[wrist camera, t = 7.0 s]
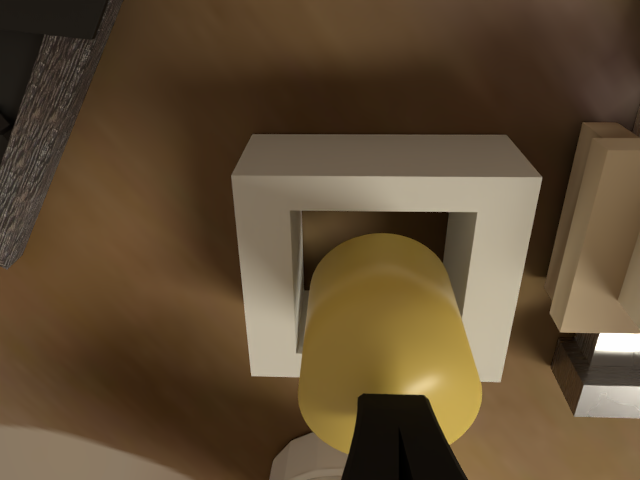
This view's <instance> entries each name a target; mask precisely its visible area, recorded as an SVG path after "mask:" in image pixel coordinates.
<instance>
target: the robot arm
mask: <svg viewBox="0 0 640 480" xmlns="http://www.w3.org/2000/svg"><path fill="white" fill-rule="evenodd" d="M341 480H468V479H467V477H466V475H465V474H464V472H463V470H462V468H461V466H460V465H459V463H458V461H457V459H456V457H455V455H454V453H453V451H452V449H451V447H450V445H449V444H448V442H447V440H446V438H445V436H444V433H443V431H442V429H441V427H440V425H439V423H438V421H437V418H436V416H435V414H434V411H433V409H432V406H431V404H430V401H429V399H428V398H427V397H426V396H425V395H406V394H366V393H363V394H362V395H360V396H359V397H358V402H357V416H356V423H355V429H354V434H353V438H352V442H351V446H350V451H349V454H348V458H347V461H346V464H345V468H344V471H343V474H342V478H341Z"/></svg>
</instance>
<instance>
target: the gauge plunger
mask: <svg viewBox="0 0 640 480" xmlns="http://www.w3.org/2000/svg"><path fill="white" fill-rule="evenodd" d="M363 393H366V394H406V395H425V396H426V397H427V398H428V399H429V401H430V404H431V406H432V409H433V411H434V414H435V416H436V418H437V421H438V423H439V425H440V427H441V429H442V431H443V433H444V436H445V438H446V440H447V442H448V444H449V445H450V444H451V443H453V442H454V441H456V440H457V439H458V438H459V437H460V436H462V435H463V434H464V433H465V432H466V431H467V429H468V428H469V427H470V426H471V424H472V423H473V421H474V420H475V418H476V416H477V414H478V412H479V409H480V405H481V400H482V386H481V382H480V378H479V374H478V371H477V368H476V365H475V361H474V358H473V355H472V351H471V348H470V345H469V342H468V338H467V335H466V332H465V328H464V325H463V322H462V319H461V315H460V312H459V309H458V305H457V302H456V299H455V295H454V292H453V289H452V286H451V282H450V279H449V276H448V273H447V271H446V268H445V266H444V265H443V263H442V262H441V260H440V259H439V258H438V257H437V255H436V254H435V253H434V252H433V251H431V250H430V249H429V248H428V247H426V246H425V245H423V244H421V243H420V242H418V241H416V240H413V239H411V238H408V237H405V236H401V235H396V234H388V233H375V234H367V235H362V236H358V237H355V238H352V239H350V240H347V241H345V242H343V243H341V244H340V245H338V246H336V247H335V248H334V249H332V250H331V251H330V252H329V253H328V254H327V255H326V256H325V257H324V258H323V259H322V260H321V261H320V263H319V264H318V266H317V267H316V269H315V271H314V273H313V276H312V279H311V283H310V290H309V299H308V307H307V316H306V325H305V334H304V342H303V351H302V360H301V369H300V378H299V386H298V403H299V408H300V411H301V414H302V416H303V418H304V420H305V422H306V423H307V425H308V426H309V428H310V429H311V430H312V431H313V432H314V433H315V434H316V435H317V436H318V437H319V438H320V439H321V440H322V441H324V442H325V443H327V444H328V445H330V446H331V447H333V448H335V449H337V450H339V451H341V452H343V453H346V454H349V451H350V446H351V442H352V438H353V434H354V429H355V423H356V416H357V402H358V397H359V396H360V395H362V394H363Z"/></svg>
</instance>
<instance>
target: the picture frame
mask: <svg viewBox="0 0 640 480" xmlns="http://www.w3.org/2000/svg"><path fill="white" fill-rule="evenodd" d="M122 2H123V0H0V266H1V267H3V268H5V269H8V268H9V267H10V266H11V265H12V264H13V263H14V262H15V261H17V260H18V259H19V258H20V257H21V256H22V255H23V252H24V249H25V247H26V244H27V242H28V239H29V237H30V234H31V232H32V229H33V227H34V224H35V222H36V219H37V217H38V214H39V212H40V209H41V207H42V204H43V201H44V199H45V196H46V194H47V191H48V189H49V186H50V184H51V181H52V179H53V176H54V174H55V171H56V169H57V166H58V164H59V161H60V159H61V156H62V153H63V151H64V148H65V146H66V143H67V141H68V138H69V136H70V133H71V131H72V128H73V126H74V123H75V121H76V118H77V116H78V113H79V111H80V108H81V106H82V103H83V100H84V98H85V95H86V93H87V90H88V88H89V85H90V83H91V80H92V78H93V75H94V73H95V70H96V68H97V65H98V63H99V60H100V58H101V55H102V52H103V50H104V47H105V45H106V42H107V40H108V37H109V35H110V32H111V30H112V27H113V25H114V22H115V20H116V17H117V15H118V12H119V10H120V7H121V4H122Z"/></svg>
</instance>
